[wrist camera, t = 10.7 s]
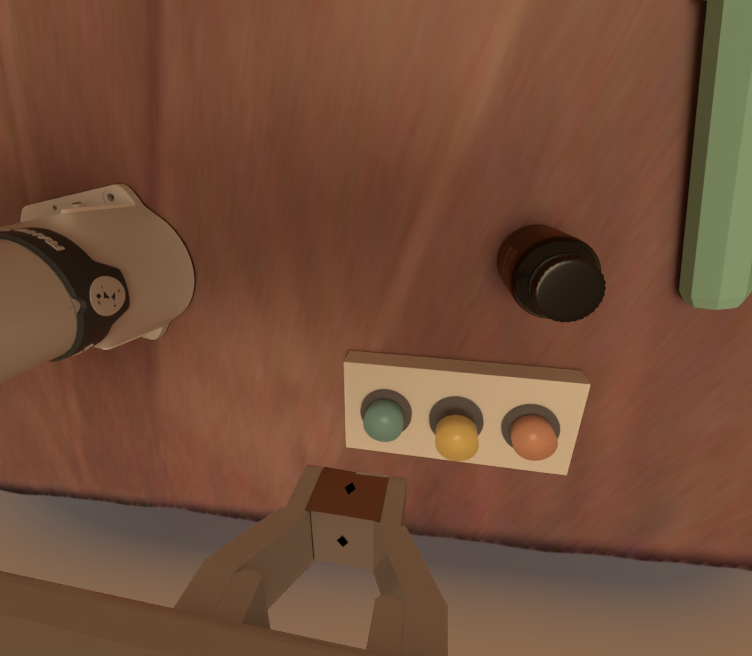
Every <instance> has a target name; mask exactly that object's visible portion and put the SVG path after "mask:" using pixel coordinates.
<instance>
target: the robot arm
mask: <svg viewBox="0 0 752 656" xmlns="http://www.w3.org/2000/svg"><path fill="white" fill-rule="evenodd" d="M112 195H113V196H114V199H113V196H112ZM193 291H194V271H193V266H192V262H191V259H190V256H189V254H188V252H187V249H186V247H185V246H184V244H183V242H182V241H181V239H180V238H179V236H178V235H177V234H176V232H175V231H174V230H173V229H172V228H171V227H170V226H169V225H168V224H167V223H166V222H165V221H164V220H163V219H161V218H160V217H159V216H157V215H156V214H154V213H153V212H151V211H150V210H149V209H148V208H146V207H145V206H144V205H143V203H142V202H141V201H140V199H139V198H138V197H137V195H136V194H135V193H134V192H133V190H132V189H131V188H130V187H128V186H127V185H125V184H115V185H110V186H106V187H102V188H97V189H93V190H89V191H85V192H81V193H77V194H72V195H68V196H64V197H60V198H56V199H51V200H47V201H43V202H39V203H35V204H31V205H27V206H24V207H23V208H22V212H21V219H20V223H15V224H11V225H6V226H2V227H0V386H1V385H2V384H4V383H6V382H8V381H10V380H12V379H14V378H16V377H18V376H20V375H22V374H24V373H26V372H28V371H30V370H32V369H34V368H36V367H38V366H40V365H42V364H44V363H46V362H48V361H59V360H62V359H65V358H68V357H71V356H75V355H77V354H80V353H82V352H84V351H86V350H88V349H89V348H90V347H96V348H102V349H103V350H109V349H112V348H115V347H117V346H119V345H122V344H124V343H127V342H129V341H132V340H134V339H136V338H139V337H144V338H147V339H151V340H155V339H158V338H160V337H162V336H163V335H164V334H165V332H166V330H167V328H168V325H169V323H170V322H171V321H172V320H173V319H174V318H176V317H177V316H179V315H180V314H181V313H182V312H183V311H184V310H185V309H186V308H187V306H188V305H189V303H190V301H191V298H192V295H193ZM406 489H407V479H406V478H401V477H393V476H390V477H389V476H384V475H376V474H368V473H361V472H352V471H346V470H340V469H334V468H328V467H319V466H313V465H308V466H307V467H306V468H305V469H304V471H303V473H302V475H301V477H300V479H299V481H298V483H297V485H296V487H295V490H294V492H293V494H292V496H291V498H290V500H289V502H288V504H287V506H286V508H284V507H280V508H279V509H277V510H276V511H274V512H273V513H271V514H270V515H268V516H267V517H266V518H264V519H263V520H261V521H260V522H258V523H257V524H255V525H254V526H252V527H251V528H250V529H248V530H247V531H245V532H244V533H242V534H241V535H239V536H238V537H236V538H235V539H233V540H232V541H230V542H229V543H228V544H226V545H225V546H223V547H222V548H220V549H219V550H218V551H216V552H214V553H213V554H212V555H210V556H209V557H207V558H206V559H205V560H204V561H203V563H202V564H201V566H200V567H199V569H198V571H197V572H196V574H195V575H194V577H193V579H192V580H191V582H190V583H189V585H188V586H187V588H186V589H185V591H184V593H183V594H182V596H181V597H180V599H179V600H178V602H177V604H176V605H175V607H174V608H170V607H165V606H160V605H155V604H151V603H146V602H141V601H137V600H132V599H128V598H122V597H118V596H114V595H109V594H104V593H100V592H95V591H90V590H86V589H81V588H77V587H72V586H67V585H63V584H58V583H53V582H49V581H44V580H39V579H35V578H30V577H26V576H21V575H16V574H12V573H7V572H2V571H0V656H448V638H447V637H448V620H447V617H448V611H447V609H448V606H447V604H446V602H445V600H444V598H443V596H442V594H441V593H440V590H439V589H438V587H437V585H436V583H435V581H434V579H433V577H432V575H431V574H430V572H429V570H428V568H427V566H426V564H425V562H424V561H423V559H422V557H421V555H420V553H419V551H418V549H417V547H416V545H415V544H414V542H413V540H412V538H411V536H410V534H409V532H408V530H407V528H406V527H404V521H405V507H406ZM313 560H314V561H321V562H328V563H335V564H342V565H347V566H351V567H356V568H361V569H366V570H371V571H373V573H374V576H375V579H376V582H377V585H378V588H379V591H380V594H381V595H380V596H379V597H377V598H376V599H375V604H374V609H373V615H372V620H371V625H370V631H369V636H368V642H367V647H366V650H365V649H361V648H356V647H351V646H346V645H342V644H337V643H332V642H328V641H323V640H318V639H314V638H309V637H304V636H300V635H295V634H290V633H286V632H281V631H277V630H272V629H270V623H269V617H268V611H267V610H268V609H269V608H270V607H271V606H272V605H273V604H274V603H275V602H276V601H277V599H279V597H280V596H281V595H282V594H283V593H284V592H285V591H286V590H287V589H288V588H289V587H290V586H291V585H292V584H293V583H294V582H295V581H296V580H297V579H298V578H299V577H300V576H301V575H302V574H303V573H304V571H306V570H307V569H308V567H310V566H311V565H312V564H313Z"/></svg>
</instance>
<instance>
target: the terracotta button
mask: <svg viewBox="0 0 752 656" xmlns="http://www.w3.org/2000/svg"><path fill="white" fill-rule="evenodd" d="M510 436H511V440H512V444H513V448H514V450H515V452H516V453H517V454H518V455H519V456H520V457H522V458H524V459H527V460H531V461H539V460H544V459H546V458H548V457H550V456H551V455H553V454H554V453H555V451H556V449H557V447H558V440H557V437H556V435H555V432H554V430H553V428H552V425H551V423H550V422H549V421H548V420H547V419H545V418H544V417H542V416H539V415H525V416H522V417H520V418H518V419H516V420H515V421H514V422H513V423H512V425H511V427H510Z"/></svg>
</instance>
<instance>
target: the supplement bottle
mask: <svg viewBox="0 0 752 656" xmlns="http://www.w3.org/2000/svg"><path fill="white" fill-rule="evenodd" d="M497 265H498V271H499V274H500V276H501V278H502V280H503V282H504V283H505V285H506V286H507V288H508V290H509V291H510V293H511V295H512V296H513V298H514V299H515V301H516V302H517V303H518V305H519V306H520V307H521V308H522V309H524V310H525V311H526V312H528V313H530V314H532V315H534V316H537V317H540V318H547V319H553V320H554V321H560V322H571V321H577V320H579V319H583V318H584V317H586V316H588V315H589V314H590V313H592V312H594V310H595V309H596V308H597V307H598V306H599V303H600V302H602V298H603V296H604V295H605V293H604V291H605V289H606V287H605V283H606V282H605V280H604V275H603V274H601V265H600V261H599V259H598V257H597V255H596V253H595V252H594V250H593V249H592V248H591V247H590V246H589V245H588V244H586V243H585V242H583V241H582V240H580V239H578V238H575V237H573V236H571V235H568V234H566V233H564V232H561V231H559V230H557V229H554V228H552V227H549V226H545V225H531V226H526V227H523V228H521V229H519V230H517V231H515V232H514V233H513V234H511V235H510V236H509V237H508V238H507V239H506V240H505V242H504V243H503V245H502V247H501V249H500V251H499V254H498V260H497Z"/></svg>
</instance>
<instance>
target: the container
mask: <svg viewBox="0 0 752 656" xmlns="http://www.w3.org/2000/svg"><path fill="white" fill-rule="evenodd" d="M703 1H707V9H706V19H705V30H704V40H703V50H702V60H701V71H700V81H699V91H698V101H697V111H696V122H695V132H694V142H693V152H692V163H691V173H690V183H689V193H688V203H687V214H686V224H685V234H684V244H683V255H682V265H681V275H680V285H679V292H680V294H681V296H682V298H683V300H684V302H686V303H688V304H689V305H691V306H693V307H696V308H705V309H713V310H720V309H729V308H737V307H738V306H739V305H740V304H741V303H742V302H743V301H744V300H745V299H746V298H747V297H748V295H749V294H750V293H751V292H752V0H703Z"/></svg>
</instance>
